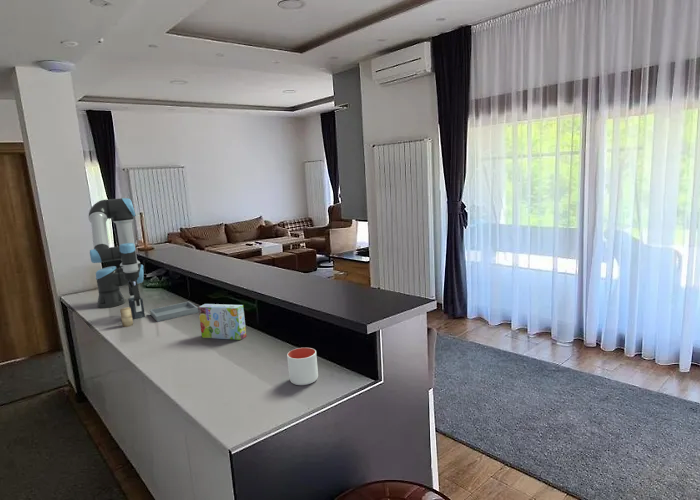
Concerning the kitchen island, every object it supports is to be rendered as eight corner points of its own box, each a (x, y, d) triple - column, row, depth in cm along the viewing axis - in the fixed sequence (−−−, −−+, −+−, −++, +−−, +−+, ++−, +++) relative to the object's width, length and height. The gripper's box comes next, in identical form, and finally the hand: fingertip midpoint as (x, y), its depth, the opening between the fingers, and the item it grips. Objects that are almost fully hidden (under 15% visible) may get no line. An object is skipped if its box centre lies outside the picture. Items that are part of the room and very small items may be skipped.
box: (145, 317, 247) (142, 298, 245) (134, 319, 243) (131, 300, 242) (141, 314, 253) (138, 296, 251) (130, 316, 249) (127, 298, 248)
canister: (122, 325, 234) (119, 308, 233) (132, 323, 237) (129, 306, 236) (123, 327, 230) (120, 310, 229) (134, 325, 233) (131, 308, 231)
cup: (290, 375, 161) (287, 348, 159) (318, 372, 161) (315, 346, 160) (289, 388, 151) (286, 360, 149) (318, 385, 152) (316, 357, 150)
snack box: (247, 336, 205) (243, 304, 202) (240, 340, 199) (236, 308, 197) (208, 333, 212) (204, 303, 209) (201, 338, 206) (196, 306, 204)
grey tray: (150, 314, 250) (149, 309, 250) (189, 306, 262) (189, 301, 262) (157, 322, 236) (156, 316, 235) (198, 312, 248) (197, 307, 247)
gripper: (119, 269, 252) (125, 306, 255) (127, 275, 231) (133, 315, 235) (134, 267, 256) (139, 303, 259) (142, 273, 236) (148, 312, 239)
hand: (136, 309), depth 247 cm, fingers open, 13 cm apart
